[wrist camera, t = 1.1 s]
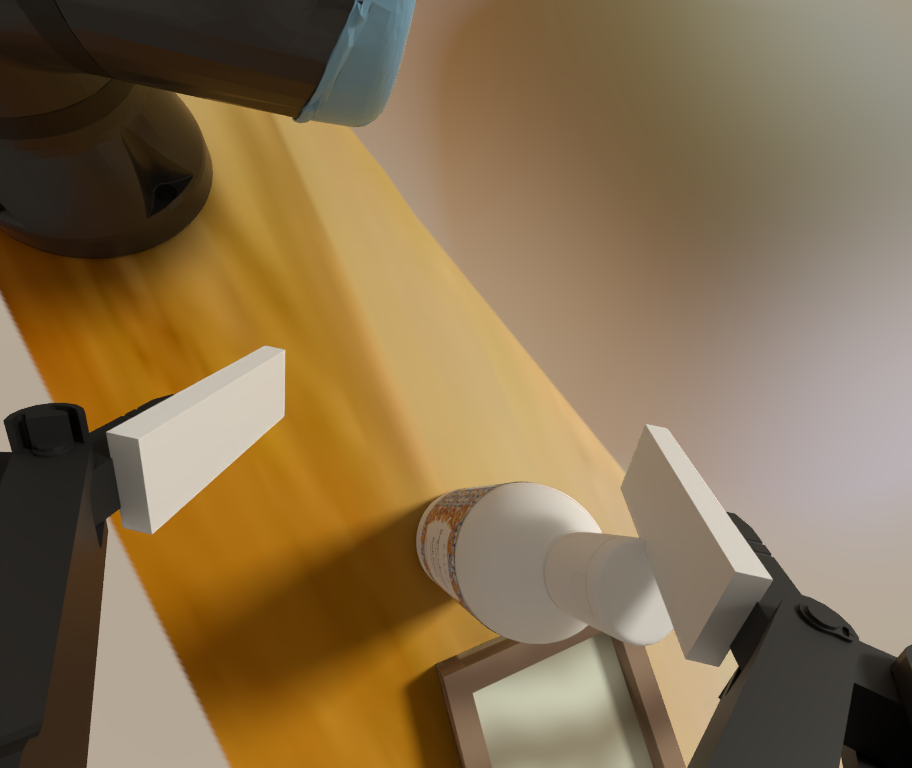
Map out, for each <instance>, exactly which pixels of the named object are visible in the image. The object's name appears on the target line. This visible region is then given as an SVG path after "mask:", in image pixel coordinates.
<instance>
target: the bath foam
mask: <svg viewBox="0 0 912 768" xmlns="http://www.w3.org/2000/svg"><path fill="white" fill-rule="evenodd" d="M416 548H417V554H418V557H419V560H420V563H421V565H422V567H423V569H424V571H425V572H426V574H427V575H428V576H429V577H430V578H431V579H432V580H433V581H434V582H435V583H436V584H437V585H438V586H439V587H440V588H441V589H442V590H444V591H445V592H446V593H447V594H448V595H449V596H451V597H452V598H453V599H454V600H455V601H456V602H458V603H459V604H460V605H461V606H462V607H463V608H465V609H466V610H467V611H468V612H469V613H470V614H471V615H473V616H474V617H475V618H476V619H477V620H478V621H480V622H481V623H482V624H483V625H484V626H486V627H487V628H488V629H490V630H491V631H493V632H495V633H497V634H499V635H501V636H504V637H506V638H509V639H512V640H515V641H518V642H523V643H529V644H547V643H553V642H558V641H562V640H564V639H567V638H569V637H571V636H573V635H575V634H577V633H579V632H580V631H582V630H583V629H584V628H585V627H587V626H588V625H590V626H592V627H594V628H596V629H598V630H600V631H602V632H604V633H606V634H608V635H610V636H612V637H614V638H616V639H618V640H620V641H622V642H625V643H627V644H631V645H636V646H647V645H652V644H655V643H657V642H659V641H661V640H662V639H664V638H665V637H666V636H667V635H668V634H669V633H670V632H671V631H672V629H673V628H674V627H673V625H672V622H671V620H670V617H669V614H668V612H667V609H666V606H665V604H664V601H663V599H662V596H661V593H660V591H659V588H658V585H657V583H656V580H655V577H654V575H653V572H652V570H651V567H650V564H649V562H648V559H647V556H646V554H645V548H646V543H645V540H643V539H640V538H635V537H627V536H619V535H610V534H602V532H601V530H600V528H599V526H598V525H597V523H596V522H595V520H594V519H593V518H592V516H591V515H590V514H589V513H588V512H587V511H586V510H585V509H584V508H583V507H582V506H581V505H580V504H579V503H578V502H576V501H575V500H574V499H573V498H571V497H570V496H568V495H566V494H564V493H563V492H561V491H559V490H556V489H554V488H551V487H548V486H545V485H541V484H536V483H531V482H513V483H504V484H496V485H488V486H480V487H472V488H464V489H458V490H453V491H450V492H447V493H445V494H443V495H441V496H440V497H438V498H437V499H435V500H434V501H433V502H432V503H431V504H430V505H429V506H428V508H427V509H426V510H425V512H424V514H423V515H422V517H421V520H420V522H419V525H418V529H417V535H416Z"/></svg>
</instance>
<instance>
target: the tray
mask: <svg viewBox="0 0 912 768" xmlns="http://www.w3.org/2000/svg"><path fill="white" fill-rule="evenodd" d="M436 668H437V672H438V676H439V680H440V684H441V688H442V692H443V696H444V700H445V704H446V708H447V712H448V716H449V720H450V724H451V728H452V732H453V736H454V740H455V744H456V748H457V752H458V756H459V760H460V764H461V768H686V766H685V764H684V761H683V758H682V755H681V752H680V749H679V746H678V743H677V740H676V737H675V734H674V731H673V728H672V725H671V722H670V719H669V717H668V714H667V711H666V708H665V705H664V702H663V699H662V696H661V693H660V690H659V687H658V684H657V681H656V678H655V675H654V672H653V669H652V667H651V664H650V661H649V658H648V655H647V652H646V649H645V646H636V645H631V644H627V643H625V642H622V641H620V640H618V639H616V638H614V637H612V636H610V635H608V634H606V633H604V632H602V631H600V630H598V629H596V628H594V627H592V626H590V625H588V626H587V627H585V628H584V629H583V630H582V631H580V632H579V633H577V634H575V635H573V636H571V637H569V638H567V639H564V640H562V641H558V642H553V643H547V644H529V643H523V642H518V641H515V640H512V639H509V638H506V637H504V636H500V637H497V638H495V639H493V640H491V641H488V642H486V643H484V644H481V645H479V646H477V647H474V648H472V649H470V650H468V651H465V652H463V653H461V654H458V655H456V656H454V657H451V658H449V659H447V660H444V661H442V662H440V663H438V664H436Z"/></svg>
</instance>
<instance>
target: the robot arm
mask: <svg viewBox="0 0 912 768" xmlns="http://www.w3.org/2000/svg"><path fill="white" fill-rule="evenodd" d="M415 3H416V0H0V229H1V230H2V231H3V232H5V233H6V234H8V235H9V236H11V237H13V238H14V239H16V240H18V241H20V242H22V243H24V244H26V245H29V246H31V247H34V248H36V249H39V250H42V251H46V252H49V253H53V254H58V255H63V256H69V257H79V258H107V257H116V256H122V255H128V254H132V253H136V252H139V251H143V250H146V249H148V248H151V247H154V246H156V245H158V244H160V243H162V242H164V241H166V240H168V239H170V238H171V237H173V236H175V235H176V234H177V233H179V232H180V231H182V230H183V229H184V228H185V227H186V226H187V225H189V224H190V223H191V222H192V221H193V219H194V218H195V217H196V216H197V215H198V213H199V212H200V211H201V209H202V207H203V206H204V204H205V202H206V200H207V198H208V195H209V192H210V189H211V184H212V175H213V172H212V162H211V157H210V154H209V151H208V148H207V146H206V143H205V140H204V138H203V135H202V132H201V130H200V128H199V125H198V124H197V122H196V120H195V118H194V117H193V115H192V113H191V112H190V110H189V109H188V107H187V106H186V105H185V104H184V102H183V101H182V100H181V99H180V98H179V97H178V95H177V94H176V93H180V94H185V95H190V96H195V97H199V98H204V99H209V100H213V101H218V102H223V103H228V104H232V105H237V106H242V107H247V108H251V109H256V110H261V111H266V112H270V113H275V114H280V115H285V116H289V117H292V118H293V120H294V121H295V122H298V123H304V122H308V121H310V120H311V121H317V122H324V123H330V124H336V125H342V126H348V127H361V126H365V125H367V124H369V123H370V122H372V121H374V120H375V119H376V118H377V117H378V116H379V115H380V114H381V113H382V112H383V110H384V109H385V107H386V105H387V103H388V101H389V98H390V96H391V93H392V91H393V87H394V84H395V81H396V78H397V75H398V72H399V68H400V64H401V61H402V57H403V53H404V49H405V46H406V41H407V38H408V34H409V30H410V25H411V21H412V17H413V12H414V8H415ZM175 92H176V93H175ZM284 410H285V350H284V349H279V348H274V347H269V346H263V347H262V348H260V349H258V350H256V351H254V352H252V353H251V354H249V355H247V356H245V357H243V358H241V359H240V360H238V361H236V362H234V363H232V364H230V365H229V366H227V367H225V368H223V369H221V370H219V371H217V372H216V373H214V374H212V375H210V376H208V377H206V378H205V379H203V380H201V381H199V382H197V383H195V384H194V385H192V386H190V387H188V388H186V389H184V390H183V391H181V392H179V393H177V394H175V395H174V394H171V395H168V396H164V397H161V398H157V399H154V400H151V401H149V402H148V403H146V404H144V405H142V406H140V407H138V409H137V410H135V409H134V410H132V411H130V412H128V413H127V414H125V416H121V417H119V418H117V419H115V420H113V421H111V422H109V423H108V424H106V425H104V426H102V427H100V428H98V429H96V430H94V431H92V432H90V433H89V430H88V425H87V420H86V415H85V411H84V408H82V407H80V406H78V405H75V404H69V403H48V404H41V405H35V406H32V407H28V408H25V409H21V410H19V411H16V412H14V413H12V414H10V415H9V416H8V417H7V418H6V419H5V420H4V425H5V428H6V432H7V435H8V439H9V442H10V446H11V450H12V452H0V768H86V767H87V756H88V744H89V734H90V723H91V712H92V701H93V690H94V679H95V668H96V657H97V646H98V635H99V624H100V612H101V602H102V591H103V580H104V569H105V558H106V547H107V536H108V527H107V522H106V519H107V518H108V517H109V516H111V515H112V514H113V513H115V512H116V511H117V510H119V509H120V513H121V519H122V525H123V528H126V529H131V530H135V531H139V532H144V533H148V534H153V533H154V532H155V531H156V530H158V529H159V528H160V527H161V526H162V525H163V524H164V523H165V522H167V521H168V520H169V519H170V518H171V517H172V516H173V515H174V514H175V513H177V512H178V511H179V510H180V509H181V508H182V507H183V506H184V505H186V504H187V503H188V502H189V501H190V500H191V499H192V498H193V497H194V496H196V495H197V494H198V493H199V492H200V491H201V490H202V489H203V488H205V487H206V486H207V485H208V484H209V483H210V482H211V481H212V480H213V479H215V478H216V477H217V476H218V475H219V474H220V473H221V472H222V471H224V470H225V469H226V468H227V467H228V466H229V465H230V464H231V463H232V462H234V461H235V460H236V459H237V458H238V457H239V456H240V455H241V454H243V453H244V452H245V451H246V450H247V449H248V448H249V447H250V446H251V445H253V444H254V443H255V442H256V441H257V440H258V439H259V438H260V437H262V436H263V435H264V434H265V433H266V432H267V431H268V430H269V429H270V428H272V427H273V426H274V425H275V424H276V423H277V422H278V421H279V420H281V419H282V418H283V417H284ZM621 491H622V493H623V496H624V499H625V501H626V504H627V506H628V509H629V512H630V514H631V517H632V520H633V522H634V525H635V527H636V530H637V533H638V535H639V538H640V539H643V540H645V543H646V548H645V554H646V556H647V559H648V562H649V564H650V567H651V570H652V572H653V575H654V577H655V580H656V583H657V585H658V588H659V591H660V593H661V596H662V599H663V601H664V604H665V606H666V609H667V612H668V614H669V617H670V620H671V622H672V625H673V627H674V630H675V633H676V635H677V638H678V641H679V643H680V646H681V648H682V651H683V654H684V656H685V659H687V660H692V661H696V662H700V663H705V664H709V665H713V666H717V667H719V666H720V664H721V663H722V661H723V660H724V658H725V656H726V655H727V653H728V652H729V650H730V649H731V651H732V653H733V655H734V657H735V659H736V661H737V663H738V665H739V666H738V668H737V670H736V671H735V673H734V674H733V676H732V677H731V679H730V680H729V682H728V683H727V685H726V686H725V688H724V689H723V691H722V693H721V694H720V696H719V697H718V698H719V699H721V700H720V702H719V704H718V706H717V708H716V710H715V712H714V714H713V716H712V718H711V720H710V722H709V725H708V727H707V729H706V731H705V733H704V735H703V737H702V739H701V741H700V743H699V745H698V747H697V749H696V751H695V753H694V755H693V757H692V759H691V761H690V763H689V765H688V767H687V768H839V764H840V758H842V763H843V768H912V645H910V646H908V647H906V648H905V650H904V651H903V652H902V653H901V654H900V655H899V657H898V658H897V657H895V656H892V655H890V654H888V653H885V652H883V651H881V650H878V649H876V648H874V647H872V646H870V645H867V644H865V643H863V642H860V641H859V637H858V635H857V634H856V633H855V631H854V630H853V628H852V627H851V625H849V624H848V623H847V622H846V621H845V620H844V619H843V618H842V617H841V616H840V615H839V614H837V613H836V612H835V611H833V610H832V609H830V608H829V607H827V606H826V605H824V604H822V603H820V602H818V601H816V600H814V599H812V598H810V597H806V596H803V595H801V593H800V592H799V591H798V589H797V588H796V587H795V585H794V584H793V583H792V581H791V580H790V579H789V577H788V576H787V574H786V573H785V572H784V571H783V569H782V568H781V566H780V565H779V564H778V562H777V561H776V560H775V558H774V557H771V553H770V552H769V550H768V549H767V548H766V546H765V545H762V541H761V540H760V538H759V537H758V536H757V534H756V533H755V532H754V530H753V529H752V528H751V527H750V526H749V525H748V524H746V523H745V522H744V521H743V520H742V519H741V518H739V517H738V516H737V515H736V514H734V513H729V512H726V511H725V510H724V509H723V507H722V506H721V504H720V503H719V502H718V500H717V499H716V497H715V496H714V494H713V493H712V492H711V490H710V489H709V487H708V486H707V484H706V483H705V481H704V480H703V479H702V477H701V476H700V474H699V473H698V472H697V470H696V469H695V467H694V466H693V464H692V463H691V461H690V460H689V459H688V457H687V456H686V454H685V453H684V451H683V450H682V449H681V447H680V446H679V444H678V443H677V441H676V440H675V439H674V437H673V436H672V434H671V433H670V431H669V430H668V429H667V428H663V427H657V426H653V425H648V424H645V426H644V429H643V432H642V434H641V437H640V439H639V442H638V445H637V447H636V450H635V452H634V455H633V457H632V460H631V463H630V465H629V468H628V470H627V473H626V475H625V478H624V480H623V483H622V486H621Z"/></svg>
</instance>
